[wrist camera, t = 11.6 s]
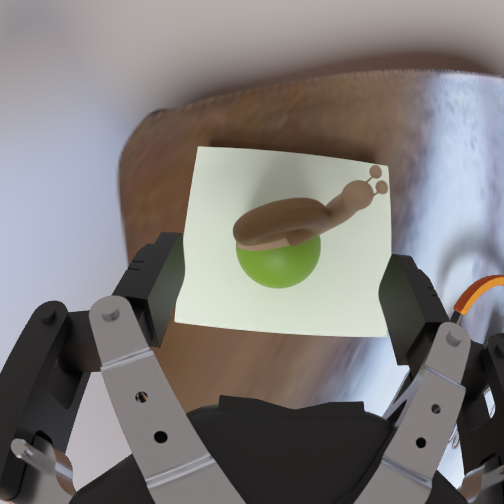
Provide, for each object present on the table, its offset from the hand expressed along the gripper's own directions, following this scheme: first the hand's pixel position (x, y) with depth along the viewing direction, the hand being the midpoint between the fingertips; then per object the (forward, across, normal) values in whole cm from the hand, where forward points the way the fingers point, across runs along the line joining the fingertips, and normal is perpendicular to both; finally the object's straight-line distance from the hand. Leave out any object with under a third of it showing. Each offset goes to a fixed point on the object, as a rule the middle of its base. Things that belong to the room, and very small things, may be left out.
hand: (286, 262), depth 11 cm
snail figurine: (+9, 0, +6) cm, 11 cm away
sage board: (+12, -1, +7) cm, 14 cm away
